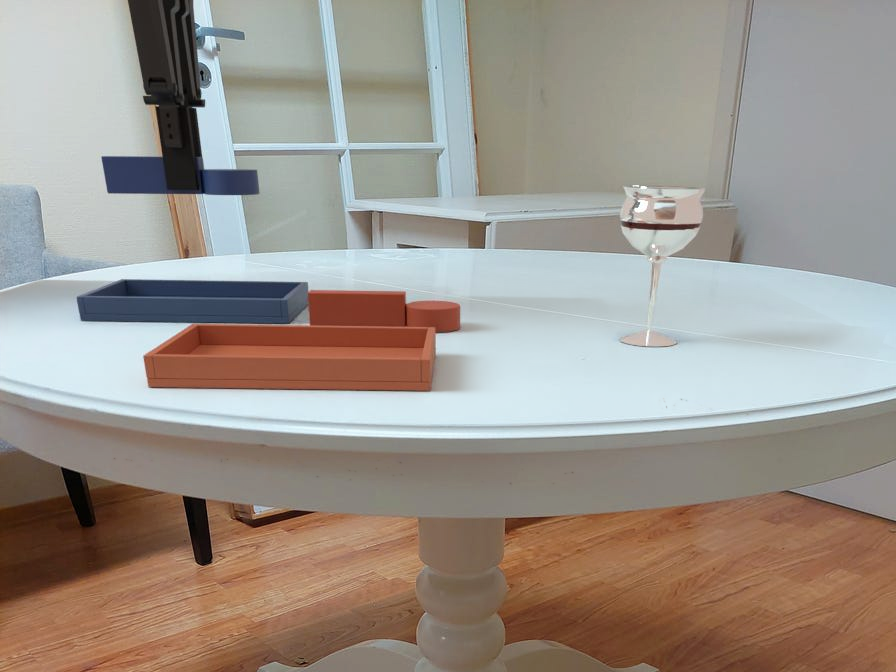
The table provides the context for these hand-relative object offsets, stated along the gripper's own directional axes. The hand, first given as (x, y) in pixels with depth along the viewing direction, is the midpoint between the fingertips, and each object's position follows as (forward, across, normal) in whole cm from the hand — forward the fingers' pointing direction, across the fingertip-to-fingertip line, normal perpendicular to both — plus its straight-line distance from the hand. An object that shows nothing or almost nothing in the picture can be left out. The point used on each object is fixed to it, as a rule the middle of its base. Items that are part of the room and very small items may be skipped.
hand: (186, 188), depth 82 cm
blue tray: (+11, 0, 0) cm, 11 cm away
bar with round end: (+11, -7, -19) cm, 23 cm away
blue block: (0, 0, 0) cm, 0 cm away
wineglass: (+11, -12, -42) cm, 45 cm away
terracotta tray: (+11, -25, -14) cm, 30 cm away
